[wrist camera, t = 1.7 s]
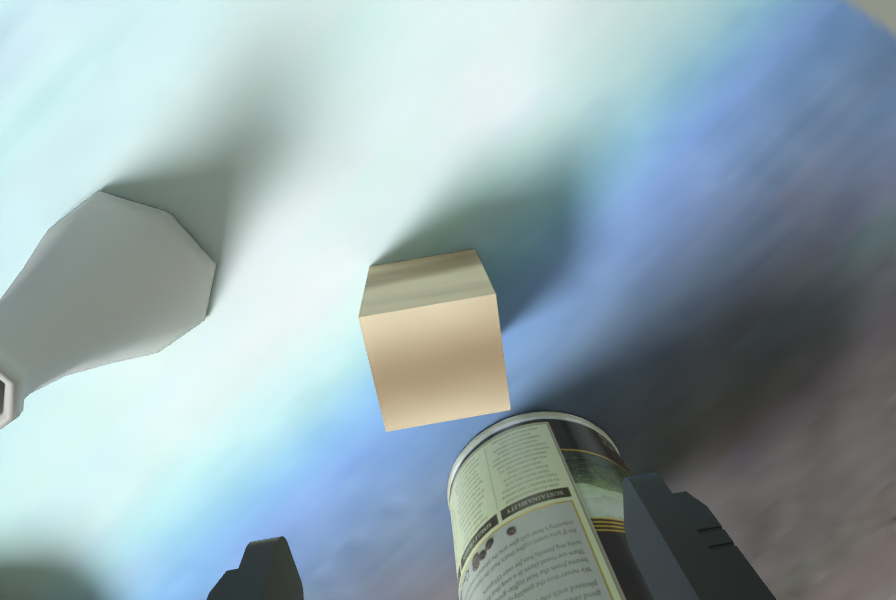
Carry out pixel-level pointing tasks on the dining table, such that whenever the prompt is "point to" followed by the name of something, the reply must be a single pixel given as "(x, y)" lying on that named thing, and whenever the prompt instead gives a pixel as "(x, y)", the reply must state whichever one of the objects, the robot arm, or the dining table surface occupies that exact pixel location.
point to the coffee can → (542, 513)
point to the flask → (99, 295)
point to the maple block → (434, 340)
